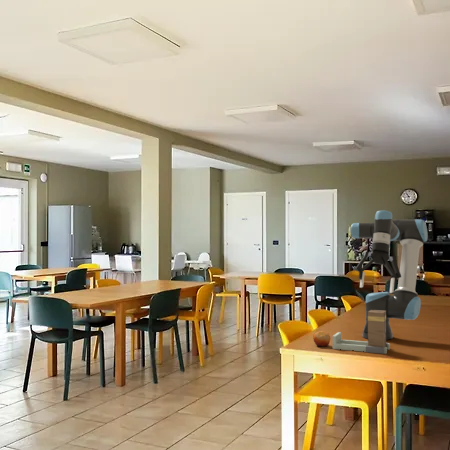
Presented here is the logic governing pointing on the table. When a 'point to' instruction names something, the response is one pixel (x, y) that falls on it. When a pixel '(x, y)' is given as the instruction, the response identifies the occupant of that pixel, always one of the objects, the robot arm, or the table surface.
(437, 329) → the table surface
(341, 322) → the table surface
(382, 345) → the block
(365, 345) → the chute
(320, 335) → the fruit
